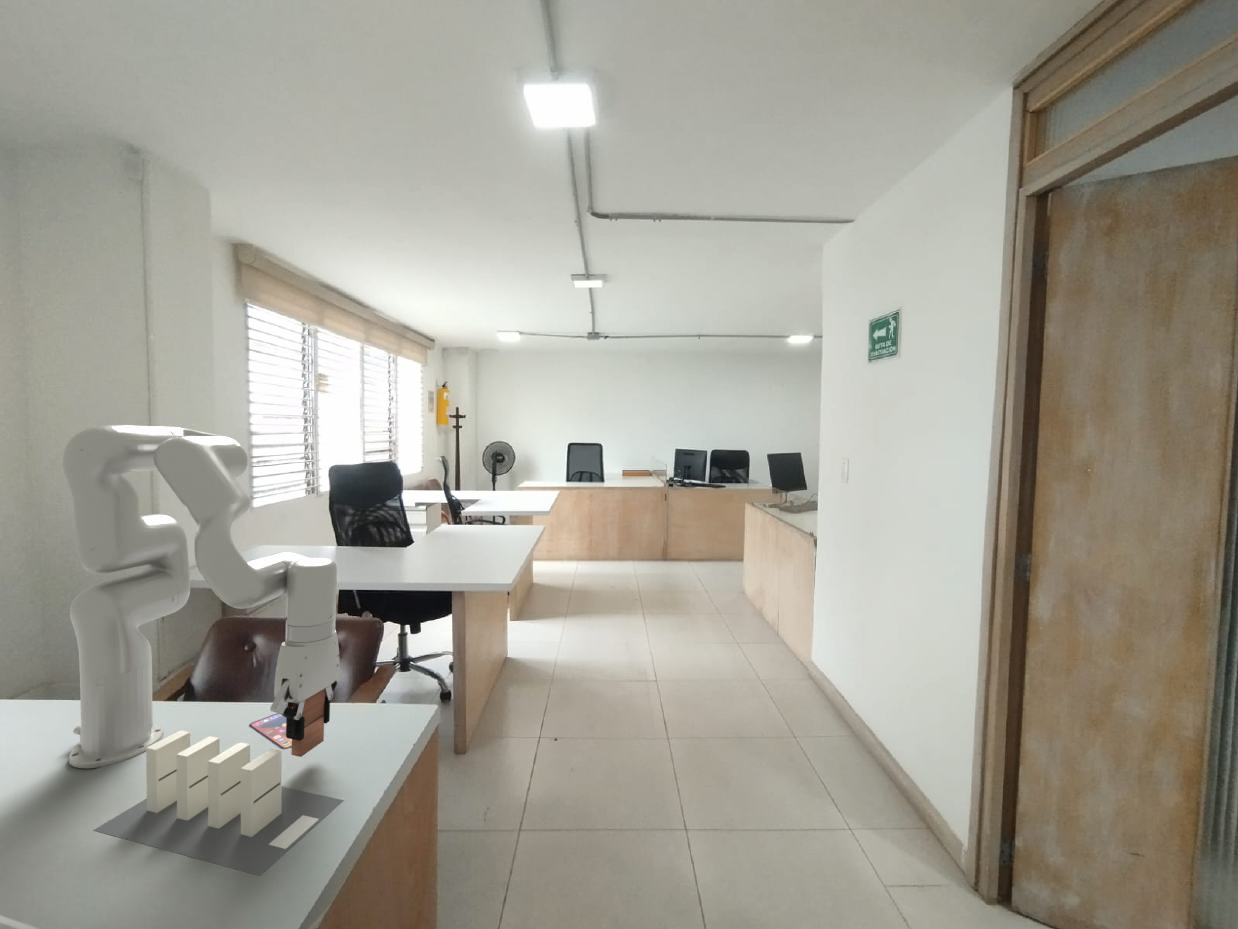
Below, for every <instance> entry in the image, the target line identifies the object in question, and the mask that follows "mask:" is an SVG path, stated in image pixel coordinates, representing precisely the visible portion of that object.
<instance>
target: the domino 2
mask: <svg viewBox="0 0 1238 929" xmlns="http://www.w3.org/2000/svg"><path fill="white" fill-rule="evenodd" d="M220 741H221V740H220V737H217V736H211V735H209V736H207V737H205V738H203V739H201V740H200V741H198V742H196V743H194V744H193V745H190V747H189V748H187V749H185V750H184V751H182V752H180V753H178V754H177V818H179V819H182V820H186V821H188V820H189V819H191V818H192V817H194V816H195V815H197V814H198V813H200V812H201V811H203V810H204V809H205V808H207V807H208V761H209V760H211V759H212V758H214V757H216V756H217V755H219V754H221V752H220V750H221V749H220V747H221V746H220Z"/></svg>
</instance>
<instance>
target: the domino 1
mask: <svg viewBox="0 0 1238 929" xmlns="http://www.w3.org/2000/svg"><path fill="white" fill-rule="evenodd" d="M189 747H191V732H190V731H186V730H181V729H180V730H178V731H177V732H175V733H173V734H170V735H168V736H166V737H164V738H162V739H161V740H160V741H158V742H156V743H155V744H153V745H151V746H149V747H147V748H146V751H145V756H146V758H145V763H146V798H147V811H151V812H155V813H158V812H159V811H161V810H163V809H164V808H166V807H167V806H169V805H171V804H172V803H174V802H175V801H177V754H178V753H180V752H182V751H184V750H185V749H187V748H189Z"/></svg>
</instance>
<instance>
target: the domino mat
mask: <svg viewBox="0 0 1238 929" xmlns="http://www.w3.org/2000/svg"><path fill="white" fill-rule="evenodd" d="M344 801H345V800H344V799H340V798H336V797H332V796H327V795H323V794H318V793H315V792H314V793H313V792H309V791H304V790H301V789H295V788H291V787H287V786H282V785H281V814H280V815H279V816H277V817H276V818H275V819H274V820H272V821H271V822H270V823H269V824H267V825H266V826H265V827H264V828H262V829H261V830H260V831H259V832H257V833H256V834H255V835H254V836H253V837H250V836H246V835H242V834H241V813H240V814H238V815H237V816H236V817H234V818H233V819H232V820H230V821H229V822H228V823H226V824H225V825H224V826H222V827H221V828H219V829H218V828H214V827H210V826H208V807H207V808H205V809H204V810H203V811H201V812H200V813H198V814H197V815H195V816H194V817H192V818H191V819H189V820H188V821H186V820H182V819H179V818H177V801H175V802H174V803H172V804H171V805H169V806H167V807H166V808H164V809H163V810H161V811H159V812H158V813H155V812H151V811H147V797H146V798H144V799H143V800H141V801H140V802H138V803H137V804H134V805H133V806H131V807H129V808H128V809H126V810H125V811H123V812H121V813H120V814H118V815H116V816H114V817H113V818H110V820H108V821H106V822H104V823H103V824H101V825H99V826H98V827H96V828H95V829H93V830H92V831H94V832H98V833H102V834H105V835H109V836H112V837H116V838H119V839H124V840H127V841H130V842H131V841H132V842H134V843H138V844H141V845H145V846H148V847H153V848H156V849H159V850H160V849H161V850H162V851H163V850H164V851H166V852H171V853H175V854H178V855H182V856H185V857H188V858H189V857H190V858H193V859H197V860H201V861H204V862H208V863H212V864H215V865H219V866H223V867H226V868H230V869H233V870H238V871H241V872H244V873H249V874H251V875H256V876H261V875H263V874H264V873H265V872H266V871H267V870H268V869H270V868H271V866H273V865H274V864H275V863H276V862H278V860H279V859H281V858H282V857H283V856H284V855H285V854H286V853H287V852H288V851H290V850H291V849H292V848H293V847H294V846H295V845H296V844H297V843H298V842H299V841H301V840H302V839H303V837H305V836H307V834H308V833H309V832H310V831H312V830H313V829H314V828H315V827H316V826H317V825H318V824H320V823H321V821H322V820H324V819H325V818H326V817H327V816H328V815H330V813H332V811H334V810H335V809H336V808H337V807H338V806H340V804H342V802H344Z"/></svg>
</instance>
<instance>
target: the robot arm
mask: <svg viewBox="0 0 1238 929" xmlns="http://www.w3.org/2000/svg"><path fill="white" fill-rule="evenodd" d="M248 464H249V458H248V455H247V452H246V450H245V449H244V447H243V446H242V445H241V444H240V443H239V442H238V441H236V440H235V439H234V438H231V437H229V436H225V435H219V434H215V433H209V432H203V431H200V430H194V429H191V428H185V427H184V428H183V427H178V426H159V425H138V424H137V425H134V424H107V425H98V426H93V427H92V426H91V427H89V428H85V429H82V430H81V431H79V432H77V433H75V434H74V435H73V436H72V437H71V438H70V439H69V440H68V442H67V443H66V445H65V448H64V450H63V454H62V468H63V471H64V476H65V480H66V481H67V485H68V487H69V490H70V492H71V497H72V500H73V501H72V502H73V514H74V527H75V537H76V548H77V556H78V560H79V562H80V565H81V566H82V568H83V569H84V570H85V571H87V572H88V573H91V574H97V575H99V574H101V575H103V574H109V573H110V574H111V573H115V572H116V573H117V572H121V571H126V570H131V569H134V568H140V569H141V572H137V573H134V574H129V575H128V574H127V575H126V576H125V575H124V576H121V577H116V578H113V579H109V580H105V581H104V580H103V581H101V582H98V583H96V584H93V585H91V586H89V587H86V588H85V589H83V590H81V592H79V593H78V594H77V595H76V596H75V597H74V599H72V602H71V604H70V608H69V615H70V616H69V617H70V621H71V625H72V629H73V631H74V633H75V637H76V642H77V649H78V660H79V682H80V683H79V689H80V692H79V693H80V696H79V697H80V698H79V699H80V725H77V726H76V727H75V728H74V729H73V730H72V732H73V734H75V735H78V736H79V741H80V742H79V744H77V746H75V747H74V748H73V749H72V750H71V752H70V753H69V755H68V763H69V765H70V766H72V767H74V768H78V769H96V768H101V767H103V766H107V765H111V764H116V763H119V762H123V761H126V760H128V759H131V758H133V757H135V756H138V755H141V754H142V753H144V752H146V748H147V747H149V746H151V745H153V744H155V743H156V742H158V741H160V740H162V739H163V737H164V728H163V727H162V726H161V725H159V724H155V723H154V722H153V717H154V716H153V659H152V658H153V657H152V647H151V644H150V642H149V640H148V638H146V637H145V636H144V635H143V634H142V633H141V632H140V630H139V627H140V626H142V625H144V624H146V623H149V622H152V621H155V620H157V619H161V618H164V617H165V616H169V615H172V614H174V613H176V612H178V611H180V610H181V609H182V608H184V606H185V605H186V604H187V603H188V600H189V598H190V594H191V576H190V564H189V549H188V547H189V546H188V540H187V535H186V532H185V530H184V528H183V527H182V525H181V524H180V523H179V521H177V520H176V519H175V518H173V517H171V516H170V515H167V514H159V513H158V514H156V513H155V514H146V515H145V514H144V515H142V513H141V508H140V496H139V494H138V491H137V490H136V488H135V487H134V485H133V484H132V483H131V481H129V480H128V478H126V477H125V476H124V475H123V474H126V473H139V472H143V473H144V472H159V473H160V475H161V477H162V478H163V479H164V480H165V482H166V483H167V485H168V486H169V487H170V489H171V490H172V492H173V494H174V495H175V496H176V497H177V499H178V500H179V501H180V502H181V504H182V505H183V506H184V508H185V509H186V511H187V512H188V514H189V515H190V516H191V517H192V519H193V520H194V521H195V523H196V525H197V528H196V533H195V537H194V557H195V562H196V567H197V569H198V571H199V573H200V574H201V577H202V578H203V579H204V581H205V582H206V584H208V586H209V587H210V589H211V590H212V592H214V594H215V595H216V596H217V597H218V599H220V600H221V601H222V602H223V603H225V604H226V605H228V606H230V607H232V608H235V609H241V610H243V609H250V608H254V607H256V606H259V605H261V604H264V603H267V602H269V601H271V600H274V599H276V598H280V597H283V596H286V602H285V603H286V606H285V607H286V608H285V611H286V612H285V641H283V642H282V643H281V645H280V649H279V652H278V655H277V661H276V668H275V676H274V684H273V685H274V689H273V695H274V700H273V702H272V704H271V706H270V708H269V709H270V711H271V712H273V713H275V714H276V713H279V714H281V715H282V716H283V717H286V737H287V738H289V739H293V740H298V741H301V740H302V739H304V724H305V718H304V717H301V716H302V712H303V707H304V703H305V699H307V698H309V697H311V696H312V695H314V694H316V693H317V692H319V691H321V690H323V689H324V690H325V703H324V724H328V723H329V722H330V715H331V713H330V712H331V700H332V699H333V697H334V691H335V689H336V687H337V686H338V682H339V681H340V679H341V678H342V676H343V674H344V670H342V669H341V667H340V648H339V640H338V633H337V631H336V620H337V615H336V611H337V579H338V575H337V574H338V566H337V564H336V562H335V560H333V559H331V558H326V557H307V556H305V555H301V554H298V553H294V552H288V551H287V552H285V551H282V552H277V553H273V554H270V555H266V556H262V557H258V558H255V559H251V560H247V561H246V560H245V558H244V557H243V556H242V554H240V551H239V550H238V549H237V548H236V546H235V544H234V542H233V539H232V534H231V528H232V525H233V523H234V522H236V521H237V520H238V519H239V518H241V517H242V516H243V515H245V514H246V512H248V510H250V509H249V508H250V507H251V498H250V496H249V495H248V494H247V492H245V490H244V488H242V486H241V485H240V483H239V482H238V481H237V479H236V478H238V477H240V476H242V474H244V472H246V470H247V467H248ZM293 703H296V708H295V710H294V709H293Z"/></svg>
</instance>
